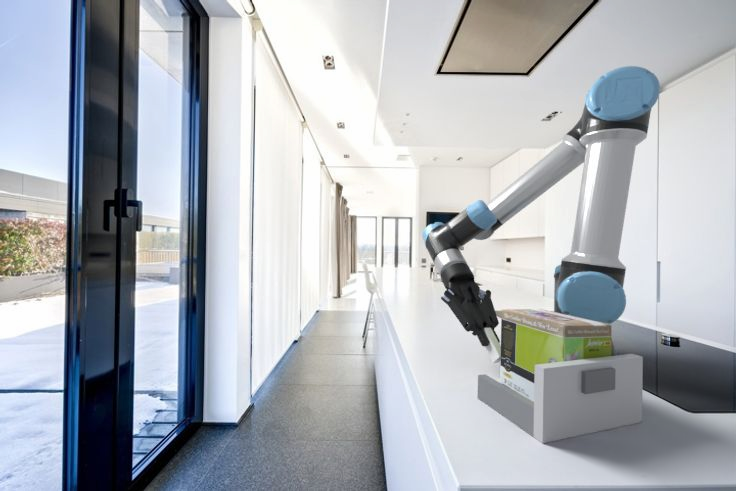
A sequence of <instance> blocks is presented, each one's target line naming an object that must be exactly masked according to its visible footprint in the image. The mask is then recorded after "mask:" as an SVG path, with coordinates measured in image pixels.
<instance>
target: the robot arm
mask: <svg viewBox="0 0 736 491" xmlns="http://www.w3.org/2000/svg"><path fill="white" fill-rule="evenodd" d="M660 84H661V83H660V81H659V79H658V77H657V76H656V75H655V73H654V72H652V71H650V70H649V69H647V68H645V67H642V66H637V65H635V66H634V65H633V66H632V65H628V66H627V65H626V66H621V67H617V68H614V69H612V70H609V71H607V72H606V73H604V74H603V75H601V76H600V77H599V78H598V79H596V81H595V82H594V83H593V84H592V85H591V87H590V89H589V90H588V92H587V94H586V96H585V103H584V108H583V110H582V114H581V117H580V118H579V120H578V121H577V123H576V124H574V126H573V128H572V129H570V130H569V131H568V132H567V133H565V134H564V135H563V138H562V142H561V143H559V144H558V145H557V146H556V147H554V148H553V149H552V150H551V151H550V152H549V153H548V154H546V155H545V156H544V157H543V158H541V159H540V160H539V161H538V162H537V163H535V164H533V166H532V167H530V168H529V169H527V171H525V172H524V173H523V174H522V175H521V176H519V177H518V178H517V179H516V180H514V181H513V182H512V183H510V185H509V186H507V187H506V188H505V189H503V190H501V192H500V193H498V194H497V195H496V196H495V197H494V198H492V199H491V200H490V201H489V202H488V203H486V202H485V201H484V200H482V199H478V200H476V201H475V202H474V203H472V204H469V205H467V207H466V208H465V209H464V210H462V211H461V212H460V213H458V214H457V215H456V216H455V217H453V218H452V219H450V220H449V221H447V222H446V223H443V222H441V221H435V222H434V223H430V224H428V225H427V226H426V227H425V228H424V229H423V231H422V239H423V242H424V246H425V249H426V250H427V252H428V253H429V255H430V257H431V260H432V262H433V264H434V266H435V268H436V271H437V274H438V276H440V279H441V282H442V284H443V286H444V288H445V289H446V290H445V291H443V293H442V296H441V297H440V300H442V302H444V303H445V304H446V305H447V306H448V307H449V309H450V310H451V311H452V313H453V314H454V316H455V317H456V319H457V321H459V323H460V325H461V326H462V327H463V329H464V331H466V332H471V334H472V336H475V337H477V338H478V340H479V343H480V345H481V346H482V347H484V348H485V350H486V351H487V354H488V356H489V358H490V360H491V362H492V364H496V363H501V339H499V336H498V333H496V331H495V328H497V327H498V325H499V324H500V322H499V318H498V316H497V313H496V310H495V307H494V304H493V300H492V298H491V297H492V291H491V290H489V289H486V291H485V290H483V289H481V287H480V286H479V285H478V284H477V283H476V280H475V276H474V273H473V271H472V269H471V268H470V266H469V265H468V263H467V261H466V259H465V257H464V256H463V254H462V252H461V250H460V248H462V247H464V246H465V245H466V244H468V243H469V242H471V241H472V240H473V239H474V240H476V241H477V240H478V241H484V240H487V239H489V238H490V237H491V236H492V235H494V233H495V231H497V230H498V229H500V228H501V227H502V226H503V225H504V224H506V223H507V222H508V221H510V220H511V219H512V218H513V217H514V216H516V215H517V214H518V213H519V212H520V213H521V211H522V210H524V209H525V208H527V207H528V206H529V205H530V204H531V203H533V202H534V201H536V200H537V199H538V198H539V197H540V196H542V195H543V194H544V193H546V192H547V191H549V189H551V188H552V187H553V186H555V185H557V184H558V183H559V182H560V181H561V180H563V179H564V178H566V176H568V175H569V174H571V173H572V172H573V171H574V170H576V169H578V167H580V166H581V165H582V164H583V170H582V175H581V176H582V177H581V182H580V189H579V195H578V202H577V209H576V216H575V222H574V227H573V228H574V229H573V236H572V242H571V248H570V253H569V254H568V255H566V256H564V257H563V258H561V263H560V264H558V265H557V266H556V267H555V268H554V273H553V278H554V287H553V288H554V296H553V298H554V299H553V301H554V302H553V303H554V305H553V306H554V307H553V312H557V313H561V314H566V315H571V316H575V317H580V318H584V319H589V320H593V321H598V322H603V323H608V324H611V325H612V323H614V322H616V321H617V320H618V319H619V318H621V316H622V315H623V313H624V312H625V309H626V306H627V305H626V304H627V296H626V293H625V289H624V284H625V276H626V270H627V266H625V264H624V263H622V262H621V261H620V258H619V256H620V248H621V243H622V237H623V230H624V224H625V217H626V212H627V206H628V205H627V204H628V198H629V192H630V184H631V180H632V179H631V178H632V173H633V166H634V160H635V153H636V148H637V146H638V145H639V144H642V142H644V140H646V139H647V137H648V130H649V127H650V119H651V112H652V108H653V107H654V105H656V103H657V101H658V99H659V98H660V97H659V96H660V95H659V94H660V91H661V90H660V89H661V85H660ZM617 355H618V354H617V350H616V347H615V344H614V341H613V338H611V356H617Z"/></svg>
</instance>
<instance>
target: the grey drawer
mask: <svg viewBox="0 0 736 491" xmlns="http://www.w3.org/2000/svg"><path fill="white" fill-rule="evenodd" d="M643 362H644V357H643V356H641V355H638V354H635V353H627V354H619V355H618V354H617V356H608V357H599V358H590V359H581V360H572V361H564V362H555V363H546V364H537V365H535V376H534V402H533V401H531V400H530V399H528V398H526V397H524V396H523V395H521V394H519V393H517V392H516V391H514V390H512V389H511V388H509V387H507V386H506V385H504V384H502V383H501V382H500V381H497V380H496V379H494V378H492V377H491V376H489V375H488V374H478V375H477V400H480V401H481V402H483V404H485V405H487V406H488V407H490V408H491V409H492V410H494V411H495V412H497V413H499V415H501V416H503V417H504V418H506V419H507V420H508V421H510V422H512V423H513V424H514V426H515V425H516V426H517V427H518V428H520V429H521V430H523V431H524V432H525V433H527V434H528V435H530V436H531V437H532V438H534V439H535V440H537V441H538V442H539V443H541V444H546V443H551V442H556V441H561V440H563V439H565V440H566V439H569V438H573V437H574V438H575V437H579V436H583V435H589V434H593V433H598V432H602V431H606V430H611V429H616V428H620V427H624V426H630V425H634V424H637V423H642V422H643V391H644V390H643V388H644V386H643V378H644V377H643V374H644V373H643V372H644V371H643V370H644V369H643V368H644V367H643V366H644V363H643Z"/></svg>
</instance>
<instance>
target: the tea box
mask: <svg viewBox="0 0 736 491" xmlns="http://www.w3.org/2000/svg"><path fill="white" fill-rule="evenodd" d="M500 319H501V321H500V323H501V325H500V326H501V327H500V328H501V329H500V331H501V332H500V346H501V361H500V369H499V370H500V371H499V373H500V375H499V379H500V381H499V382H500V383H501V384H503V385H505V386H507V387H508V388H510V389H512V390H514V391H515V392H517V393H519V394H521V395H523V396H524V397H526V398H528V399H530V400H531V401H533V402H534V376H535V365H537V364H546V363H555V362H564V361H572V360H581V359H590V358H599V357H608V356H611V338H612V323H611V324H608V323H603V322H598V321H593V320H589V319H584V318H580V317H575V316H571V315H566V314H561V313H557V312H554V311H550V310H547V309H542V308H530V309H529V308H528V309H527V308H526V309H525V308H524V309H523V308H521V309H520V308H518V309H517V308H515V309H513V308H510V309H509V308H508V309H501V318H500ZM612 339H613V338H612Z"/></svg>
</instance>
